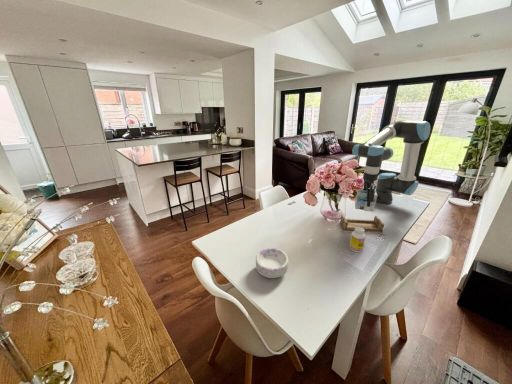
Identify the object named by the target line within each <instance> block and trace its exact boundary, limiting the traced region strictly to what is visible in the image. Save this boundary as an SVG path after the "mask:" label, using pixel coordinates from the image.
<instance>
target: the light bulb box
mask: <svg viewBox="0 0 512 384" xmlns="http://www.w3.org/2000/svg"><path fill="white" fill-rule="evenodd" d="M356 192H357V193H356V197H355V202H354V209H355V210H361V211H364V208H365V203H366V201H367V191H365V190H361V189H357V191H356ZM376 199H377V193H376V192H375V193H374V200H373V202H371V204H370V209H369V211H368V212H375V208H376V203H377V202H376ZM365 200H366V201H365Z"/></svg>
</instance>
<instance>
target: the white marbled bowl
mask: <svg viewBox="0 0 512 384" xmlns="http://www.w3.org/2000/svg"><path fill="white" fill-rule="evenodd" d="M288 268H289V257H288V254H287V253H286V252H284V251H283V250H281V249H279V248H276V247H275V248H274V247H273V248H272V247H268V248H264V249H262V250H260V251H259V252H258V253H257V254H256V256H255V269H256V271H257V272H258V273H259V274H260V275H261V276H263V277H266V278H267V279H276V278H280V277H283V276H284V275H285V274H286V273H287V272H288V270H289V269H288Z"/></svg>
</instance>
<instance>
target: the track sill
mask: <svg viewBox="0 0 512 384" xmlns="http://www.w3.org/2000/svg"><path fill="white" fill-rule="evenodd" d="M339 220H340V221H339V223H340V224H341V226H342V229H343V230H344V232H353V231H355V227H361V228H363V229H364V230H365V231H364V233H372V234H373V233H374V234H383V231H384V228H385V224H384V222H382V220H381V219H380V217H378V216H377V215H374V217H373V220H372V219H371V220H370V219H352V218H346V216H345V215H344V214H342V213H341V214H340V219H339Z"/></svg>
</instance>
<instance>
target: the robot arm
mask: <svg viewBox="0 0 512 384" xmlns="http://www.w3.org/2000/svg"><path fill="white" fill-rule="evenodd" d="M430 135H431V124H430V122H428V121H426V120H424V121H423V120H405V119H403V120H402V119H401V120H397V121H394V122H391V123H389V124H387V125H385V126H384V127H383V128H381V131H380V132H378V133H376V134H375V135H374V136H372V137H371V138H369V139H368V140H366V141H365V142H364V143H362V144H359V143H358V144H355V145H353V147H352V150H351V151H352V155H353V156H356V157H360V158H364V159H365V158H366V161H365V166H364V167H363V168H364V172H363V177H362V178H363V179H364V189H363V190H365V191H367V201H366V200H365V201H366V203H365V208H364V210H363V212H370V211H369V209H370V204H371V202H373V200H374V193H375V192H376V193H377V199H376V203H379V204H383V205H384V204H386V205H387V204H388V205H389V204H392V203H393V199H394V197H393V192H396V193H397V194H398V193H399V194H402V195H406V196H411V195H413V194H414V193H415V192H416V190H417V189H418V186H419V184H420V183H419V181H418V180H417V176H415V173H416V168H417V164H418V160H419V153H420V150H421V146H422V145H421V144H423V143H424V142H425V141H427V140H428V138H429V137H430ZM394 138H395V139H397V138H400V139H403V141H402V142H403V143H404V144H405V145H404V150H403V156H402V162H401V167H400V174H398V175H397V173H393V172H382V173H380V168H381V164H382V162H383V161H388V160H390V159H391V158H392V157H393V156H394V151H393V148H392V147H388V146H382V145H383V144H384V143H385V142H387V141H388V140H392V139H394ZM375 181H377V182H376V185H375Z"/></svg>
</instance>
